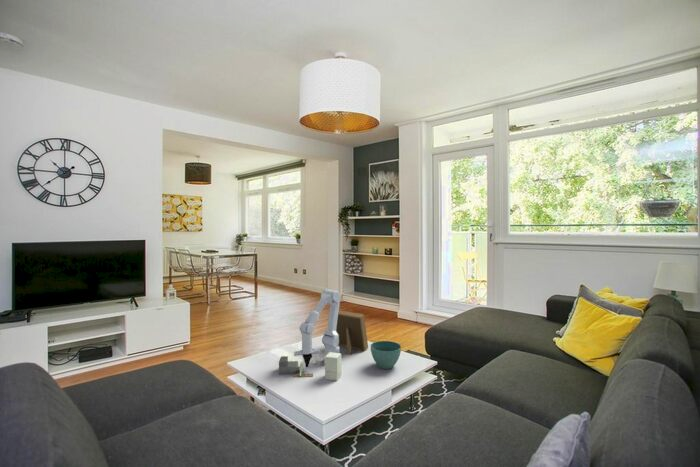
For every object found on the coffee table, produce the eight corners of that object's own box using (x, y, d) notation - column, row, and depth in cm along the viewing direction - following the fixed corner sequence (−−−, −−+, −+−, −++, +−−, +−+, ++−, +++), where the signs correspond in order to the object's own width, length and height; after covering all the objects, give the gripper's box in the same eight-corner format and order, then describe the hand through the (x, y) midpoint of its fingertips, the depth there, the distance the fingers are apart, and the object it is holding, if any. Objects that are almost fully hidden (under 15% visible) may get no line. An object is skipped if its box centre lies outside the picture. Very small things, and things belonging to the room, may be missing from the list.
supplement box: (341, 375, 196) (341, 353, 196) (337, 381, 189) (337, 358, 189) (329, 373, 199) (329, 351, 198) (324, 379, 192) (324, 356, 191)
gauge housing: (297, 367, 206) (297, 356, 206) (295, 373, 198) (295, 361, 198) (281, 368, 206) (281, 356, 206) (278, 374, 198) (278, 361, 198)
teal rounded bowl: (365, 369, 205) (365, 348, 205) (376, 358, 221) (376, 338, 221) (395, 375, 197) (395, 353, 197) (404, 363, 214) (404, 343, 213)
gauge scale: (313, 373, 198) (313, 373, 198) (312, 376, 195) (312, 376, 195) (293, 374, 198) (293, 373, 198) (292, 377, 194) (292, 376, 194)
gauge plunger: (303, 367, 206) (303, 361, 206) (301, 376, 194) (301, 369, 194) (285, 367, 206) (285, 361, 205) (282, 376, 194) (282, 370, 194)
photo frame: (341, 342, 248) (341, 308, 247) (368, 349, 237) (368, 312, 236) (329, 349, 236) (328, 313, 235) (356, 356, 224) (356, 317, 223)
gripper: (317, 339, 208) (317, 362, 209) (293, 342, 203) (293, 365, 204) (320, 343, 201) (320, 367, 202) (295, 346, 197) (295, 370, 197)
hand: (307, 366), depth 202 cm, fingers closed
